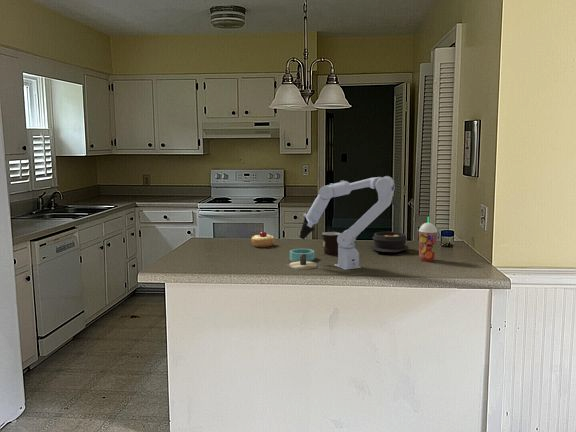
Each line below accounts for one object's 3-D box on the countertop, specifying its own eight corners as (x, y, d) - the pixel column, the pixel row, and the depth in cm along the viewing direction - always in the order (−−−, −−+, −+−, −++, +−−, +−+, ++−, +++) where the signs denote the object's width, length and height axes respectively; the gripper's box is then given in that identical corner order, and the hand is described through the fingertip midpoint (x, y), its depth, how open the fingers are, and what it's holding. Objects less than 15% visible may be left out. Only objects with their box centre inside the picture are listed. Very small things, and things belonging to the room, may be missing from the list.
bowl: (318, 260, 250) (318, 252, 249) (296, 263, 245) (296, 254, 244) (307, 256, 260) (307, 247, 259) (285, 258, 255) (285, 250, 254)
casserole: (407, 256, 257) (407, 239, 256) (367, 254, 262) (367, 237, 261) (410, 246, 281) (410, 230, 280) (373, 245, 286) (373, 229, 285)
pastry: (257, 250, 278) (256, 232, 276) (248, 245, 288) (247, 228, 287) (278, 246, 284) (278, 230, 282) (268, 242, 294) (268, 226, 292)
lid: (322, 267, 235) (322, 255, 234) (296, 270, 230) (296, 258, 229) (309, 261, 246) (309, 250, 245) (284, 264, 241) (284, 253, 240)
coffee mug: (338, 256, 259) (339, 235, 258) (320, 255, 261) (320, 234, 259) (341, 251, 270) (341, 231, 269) (324, 250, 272) (324, 230, 271)
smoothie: (424, 257, 255) (425, 214, 252) (440, 260, 249) (441, 216, 246) (414, 260, 249) (415, 216, 246) (430, 263, 243) (431, 218, 241)
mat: (322, 268, 235) (322, 267, 235) (296, 271, 230) (296, 270, 230) (309, 262, 246) (309, 261, 246) (284, 265, 241) (284, 264, 241)
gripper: (309, 200, 246) (295, 226, 250) (307, 209, 232) (292, 236, 236) (323, 208, 246) (309, 233, 251) (322, 217, 233) (307, 244, 237)
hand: (302, 235), depth 243 cm, fingers open, 7 cm apart
